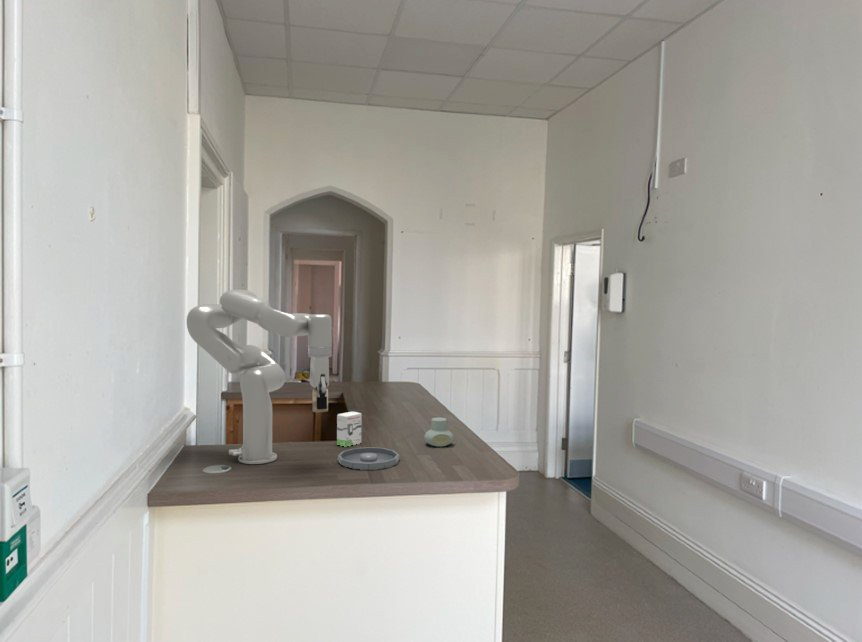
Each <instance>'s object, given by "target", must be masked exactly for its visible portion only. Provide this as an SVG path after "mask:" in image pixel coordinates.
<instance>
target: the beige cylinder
mask: <svg viewBox="0 0 862 642" xmlns="http://www.w3.org/2000/svg"><path fill="white" fill-rule="evenodd" d="M319 390H321V389H319ZM311 392H312V412H313V413H326V412H329V388H326V392H327V409H317V397H318V394H317V389H314V388H313V389H312V391H311Z"/></svg>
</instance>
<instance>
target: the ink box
mask: <svg viewBox="0 0 862 642" xmlns="http://www.w3.org/2000/svg"><path fill="white" fill-rule="evenodd" d="M362 414H363V413H361V412H358V411H348V412H342V413H337V415H336V424H337V425H336V446H337V445H340V446H339V447H342V446H344V447H343V448H348V447H347V446H349V447H352V446H351V445H353V446H357V445H361V444H362V423H363V422H362V421H363V420H362V417H363V415H362ZM360 443H361V444H360ZM356 444H357V445H356Z"/></svg>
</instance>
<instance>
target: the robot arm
mask: <svg viewBox="0 0 862 642" xmlns="http://www.w3.org/2000/svg"><path fill="white" fill-rule="evenodd" d="M242 320H246V321H249V322H251V323H254V324H256V325H258V327H260V328H262V329H263V330H266V331H268V332H269V333H273V334H275V335H278V336H280V337H281V336H282V337H284V338H294V337H295V338H296V337H304V336H307V340H308V341H307V348H308V351H307V355H308V356H307V357H308V358H310V361H309V362H310V363H309V364H310V365H309V385H310V386H311V387H312V388H313V389H317V394H318V397H317V409H327V392H326V389H327V388H328V387H329V385H330V364H329V363H330V361H329V358H330V357H332V356H333V355H332V353H333V352H332V347H333V346H332V345H333V344H332V342H333V340H332V339H333V338H332V337H333V336H332V332H333V331H332V317H331V315H330V314H327V313H325V314H323V313H318V314H317V313H316V314H311V313H302V312H300V313H299V312H298V313H296V312H295V313H287V312H284V311H281V310H278V309H276V308H273V307H271V303H270V302H269V300H267V299H264V298H261V297H257V294H255V293H254V292H253V291H250V290H248V289H229V290H226V291H225V292H224V293H222V294H221V296H220V298H219V304H201V305H196V306H195V307H193V308H191V309H190V310H189V311H188V314H187V316H186V329H187V332H188V334H189V336H190V337H191V338H192V340H193V341H194V342H195V343H196V344H197V345H198V346H199V347H201V348H202V349H203V351H205V352H206V353H207V354H208V355H210V357H212V358H213V359H214V360H215V361H216V362H217V363H218V364H219V365H221V367H223V369H225V370H226V371H227V373H228V372H229V373H230V374H232V375H239V374H242V375H241V377H240V382H239V384H240V385H239V387H240V392H241V396H242V415H243V416H242V421H243V422H242V428H243V429H242V443H243V444H242V445H241V447H238V448H236V449H235V448H232V449H228V456H232V457H237V456H238V458H237V460H238V462H239V463H242V464H245V465H261V464H269V463H271V462H274V461H276V460H277V459H278V454H277V453H275V452H273V402H272V399H271V396H270V393H273V392H274V391H277V390H279V389H281V388H282V387H283V386H284V384H285V383H286V374H285V371H284V370H283V369H284V368H282V366H280V364H278V363H277V362H276V361H275V360H274V359H273V358H272V357H271V356H270V355H269V354H267V353H266V352H265V351H264V350H262V348H260V347H258V346H256V345H252V344H247V345H246V344H244V345H241V344H237V343H236V342H234V340H232V339H231V338H230V337H229V336H228V335H227V334H226V333H224V332H222V331H220V330H218V329H224V328H227V327H228V328H229V326H232V325H234V324H235V323H237V322H239V321H242ZM319 389H321V390H319Z"/></svg>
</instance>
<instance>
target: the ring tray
mask: <svg viewBox="0 0 862 642" xmlns="http://www.w3.org/2000/svg"><path fill="white" fill-rule="evenodd" d="M399 461H400V454H399V453H398V452H397V451H396V450H393V449H390V448H385V447H374V446H373V447H372V446H371V447H370V446H368V447H367V446H365V447H353V448H351V449H346V450H343V451H341V452H340V453H339V454H338V455H337V462H338V464H339V463H340V464H341V465H343V466H346V467H349V468H353V469H352V470H355V469H360V470H359V471H378V469H379V470H385V469H389V468H391V467H394V466H396V465H398V463H399ZM340 464H339V465H340ZM341 465H340V466H341ZM343 466H342V467H343ZM346 467H345V468H346ZM349 468H348V469H349Z"/></svg>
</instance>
